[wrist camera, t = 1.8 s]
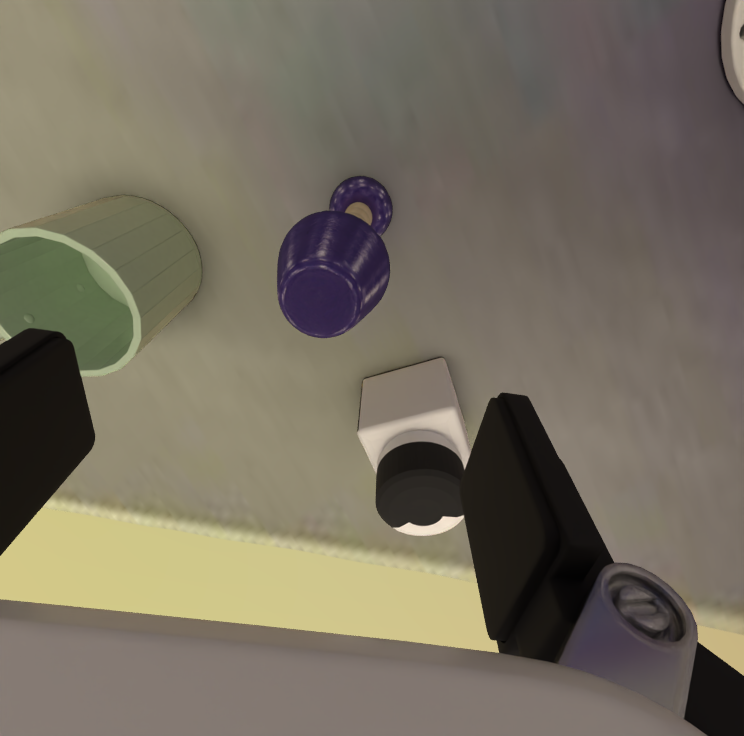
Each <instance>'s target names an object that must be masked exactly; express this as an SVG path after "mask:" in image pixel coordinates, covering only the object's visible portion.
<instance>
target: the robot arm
mask: <svg viewBox="0 0 744 736" xmlns="http://www.w3.org/2000/svg"><path fill="white" fill-rule="evenodd" d="M740 29H741V33H740ZM739 33H740V34H739ZM721 51H722V61H723V65H724V69H725V73H726V77H727V80H728V82H729V84H730V86H731V88H732V90H733V91H734V93H735V95H736V97H737V98H738V99H739V100H740V101H741V102H742V103H743V104H744V0H726V3H725V8H724V15H723V22H722V29H721ZM94 442H95V432H94V428H93V424H92V420H91V416H90V411H89V407H88V403H87V399H86V395H85V391H84V387H83V382H82V378H81V374H80V370H79V366H78V362H77V358H76V353H75V349H74V346H73V343H72V342H71V341H70V340H68V339H66V337H65V336H64V334H63V333H61V332H58V331H51V330H43V329H36V328H28V329H25V330H23V331H22V332H20V333H19V334H17V335H15V336H14V337H12V338H10V339H9V340H7V341H6V342H4V343H2V344H1V345H0V556H1V554H2V553H3V552H4V551H5V550H6V549H7V547H8V546H9V545H10V544H11V542H13V540H14V539H15V538H16V537H17V536H18V535H19V533H20V532H21V531H22V530H23V529H24V528H25V526H26V525H27V524H28V523H29V522H30V521H31V519H32V518H33V517H34V516H35V515H36V514H37V512H38V511H39V510H40V509H41V508H42V507H43V505H44V504H45V503H46V502H47V501H48V500H49V498H50V497H51V496H52V495H53V494H54V493H55V491H56V490H57V489H58V488H59V487H60V486H61V484H62V483H63V482H64V481H65V480H66V479H67V477H68V476H69V475H70V474H71V473H72V472H73V470H74V469H75V468H76V467H77V466H78V465H79V463H80V462H81V461H82V460H83V459H84V458H85V456H86V455H87V454H88V453H89V452H90V450H91V449H92V447H93V445H94ZM460 498H461V503H462V508H463V513H464V518H465V523H466V528H467V533H468V538H469V543H470V548H471V553H472V558H473V563H474V568H475V573H476V578H477V583H478V588H479V593H480V598H481V603H482V608H483V613H484V618H485V623H486V628H487V632H488V635H489V637H490V639H491V640H497V644H498V649H499V653H495V652H487V651H479V650H471V649H463V648H455V647H447V646H438V645H431V644H423V643H415V642H407V641H398V640H389V639H379V638H370V637H361V636H351V635H341V634H333V633H323V632H314V631H304V630H296V629H286V628H277V627H267V626H258V625H249V624H239V623H229V622H219V621H210V620H200V619H190V618H181V617H171V616H161V615H151V614H142V613H132V612H121V611H112V610H102V609H91V608H81V607H72V606H61V605H52V604H41V603H32V602H21V601H11V600H0V736H744V676H743V675H742V674H740V673H739V672H738V671H736V670H735V669H734V668H732V667H731V666H730V665H728V664H727V663H726V662H724V661H723V660H721V659H720V658H719V657H717V656H716V655H715V654H713V653H712V652H711V651H709V650H708V649H707V648H705V647H704V646H703V645H701V644H700V643H699V642H697V640H698V633H697V625H696V622H695V620H694V617H693V615H692V612H691V611H690V609H689V608H688V606H687V605H686V604H685V602H684V601H683V599H682V598H681V597H680V596H679V595H678V594H677V593H676V592H675V591H674V590H673V589H672V588H671V587H670V586H669V585H668V584H667V583H665V582H664V581H663V580H661V579H660V578H659V577H657V576H656V575H655V574H653V573H651V572H649V571H647V570H645V569H643V568H641V567H638V566H635V565H632V564H628V563H614V561H613V559H612V557H611V556H610V554H609V552H608V550H607V548H606V546H605V544H604V542H603V540H602V538H601V536H600V534H599V532H598V530H597V528H596V526H595V524H594V522H593V520H592V518H591V516H590V514H589V512H588V510H587V508H586V506H585V504H584V503H583V501H582V499H581V497H580V495H579V493H578V491H577V489H576V487H575V485H574V483H573V481H572V479H571V477H570V475H569V473H568V471H567V469H566V467H565V465H564V464H563V462H562V461H561V459H559V457H558V455H557V453H556V451H555V449H554V447H553V445H552V443H551V441H550V439H549V437H548V435H547V433H546V431H545V429H544V427H543V425H542V423H541V421H540V419H539V417H538V415H537V413H536V411H535V409H534V407H533V405H532V403H531V401H530V400H529V398H528V397H527V396H524V395H517V394H510V393H500V395H499V396H498V398H491V399H490V401H489V403H488V406H487V409H486V412H485V414H484V417H483V420H482V423H481V426H480V428H479V431H478V434H477V437H476V440H475V442H474V445H473V448H472V451H471V454H470V457H469V459H468V462H467V465H466V468H465V471H464V473H463V476H462V479H461V483H460Z"/></svg>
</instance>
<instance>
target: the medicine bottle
mask: <svg viewBox="0 0 744 736" xmlns="http://www.w3.org/2000/svg"><path fill="white" fill-rule="evenodd" d="M357 434H358V437H359V439H360V441H361V443H362V445H363V447H364V449H365V451H366V453H367V456H368V458H369V460H370V462H371V464H372V466H373V468H374V470H375V472H376V475H377V476H376V508H377V511H378V513H379V515H380V516H381V518H382V519H383V520H384V521H385V522H386V523H387V524H388V525H390V526H391V527H392V528H394V529H396V530H398V531H400V532H403V533H406V534H410V535H417V536H428V535H435V534H439V533H442V532H445V531H447V530H449V529H451V528H453V527H454V526H456V525H457V524H458V523H459V522H460V521H461V520H462V519H463V518H464V513H463V508H462V503H461V498H460V483H461V479H462V476H463V473H464V471H465V468H466V465H467V462H468V459H469V457H470V454H471V448H470V444H469V440H468V436H467V432H466V427H465V423H464V419H463V416H462V413H461V410H460V406H459V403H458V400H457V396H456V393H455V390H454V387H453V383H452V380H451V377H450V373H449V370H448V367H447V364H446V361H445V359H444V358H438V359H434V360H431V361H427V362H424V363H420V364H416V365H413V366H409V367H406V368H402V369H399V370H395V371H391V372H388V373H384V374H381V375H377V376H373V377H370V378H366V379H364V380H363V382H362V389H361V399H360V409H359V420H358V430H357Z"/></svg>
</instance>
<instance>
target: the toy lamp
mask: <svg viewBox="0 0 744 736" xmlns="http://www.w3.org/2000/svg"><path fill="white" fill-rule="evenodd" d="M391 218H392V202H391V199H390V196H389V195H388V193H387V191H386V189H385V188H384V187H383V186H382V185H381V184H380V183H379V182H377V181H376V180H374V179H373V178H369V177H365V176H357V177H351V178H349V179H347V180H345V181H343V182H342V183H341V184H340V185H339V186H338V187H337V188H336V190H335V191H334V192H333V195H332V197H331V200H330V211H322V212H317V213H313V214H311V215H308V216H307V217H305V218H303V219H302V220H300V221H299V222H298V223H297V224H295V225H294V226H293V227H292V229H291V230H290V231H289V232H288V234H287V235H286V237H285V239H284V241H283V243H282V246H281V248H280V252H279V257H278V268H277V294H278V301H279V304H280V307H281V310H282V312H283V314H284V316H285V317H286V319H287V320H288V321H289V322H290V323H291V324H292V325H293V326H294V327H295V328H296V329H298V330H299V331H300V332H302V333H305V334H307V335H309V336H313V337H317V338H330V337H335V336H338V335H341V334H343V333H345V332H347V331H348V330H350V329H351V328H353V327H354V326H355V325H356V324H357V323H358V322H360V321H361V320H362V319H363V318H364V317H365V316H366V315H367V314H368V313H369V312H370V311H371V310H372V309H373V308H374V307H375V306H376V305H377V304H378V303H379V301H380V300H381V299H382V297H383V295H384V293H385V291H386V288H387V285H388V281H389V276H390V262H389V256H388V252H387V250H386V247H385V244H384V242H383V241H382V239H381V237H380V236H381V235H382V234H383V233H384V232H385V231H386V229H387V227H388V226H389V224H390V221H391Z"/></svg>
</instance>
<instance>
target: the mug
mask: <svg viewBox="0 0 744 736" xmlns="http://www.w3.org/2000/svg"><path fill="white" fill-rule="evenodd" d="M201 277H202V265H201V259H200V255H199V252H198V249H197V246H196V244H195V242H194V240H193V238H192V237H191V235H190V234H189V232H188V231H187V229H186V228H185V227H184V226H183V224H182V223H181V222H180V221H179V220H178V219H177V218H176V217H175V216H173V215H172V214H171V213H170V212H168V211H167V210H166V209H164V208H162V207H161V206H159V205H157V204H155V203H153V202H151V201H149V200H146V199H143V198H140V197H135V196H127V195H120V196H112V197H106V198H102V199H99V200H96V201H93V202H90V203H87V204H84V205H81V206H78V207H75V208H71V209H68V210H65V211H62V212H59V213H56V214H53V215H50V216H47V217H43V218H40V219H37V220H34V221H31V222H28V223H25V224H22V225H19V226H16V227H12V228H9V229H7V230H5V231H3V232H1V233H0V341H1V340H4V339H5V340H6V341H7V340H9V339H10V338H12V337H14V336H15V335H17V334H19V333H20V332H22V331H23V330H25V329H28V328H36V329H43V330H51V331H58V332H61V333H63V334H64V336H65V337H66V339H68V340H70V341H71V342H72V343H73V346H74V349H75V353H76V358H77V362H78V366H79V370H80V374H81V377H87V376H104V375H106V374H109V373H112V372H115V371H117V370H120V369H122V368H123V367H124V366H125V365H126V364H127V363H128V362H129V361H130V360H132V359H133V358H134V357H135V356H136V355H137V354H138V353H139V352H140V351H141V350H142V349H143V348H144V347H145V346H146V345H147V344H148V343H149V342H150V341H151V340H152V339H153V338H154V337H155V336H156V335H157V334H158V333H159V332H160V331H161V330H162V329H163V328H164V327H165V326H166V325H167V324H168V323H169V322H170V321H171V320H172V319H173V318H174V317H175V316H176V315H177V314H178V313H179V312H180V311H181V310H182V309H183V308H184V307H185V306H186V305H188V304H189V303H190V302H191V300H192V299H193V298H194V296H195V295H196V293H197V291H198V289H199V286H200V283H201Z"/></svg>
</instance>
